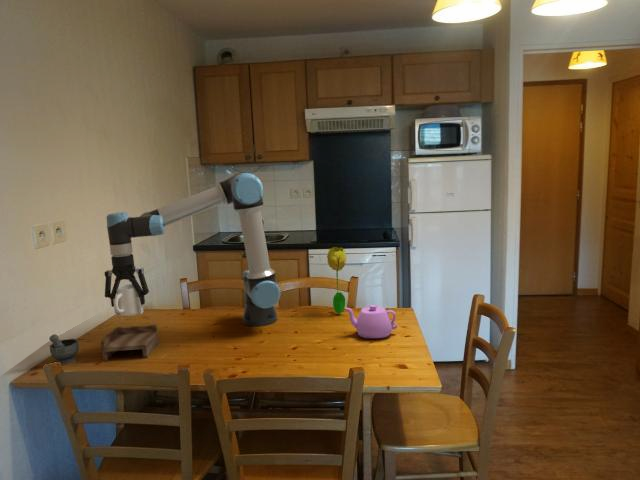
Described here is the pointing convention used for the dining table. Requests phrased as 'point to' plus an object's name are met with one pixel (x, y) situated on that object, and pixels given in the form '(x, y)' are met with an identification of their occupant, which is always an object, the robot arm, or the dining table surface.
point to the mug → (126, 300)
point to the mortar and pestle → (63, 349)
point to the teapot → (373, 322)
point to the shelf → (130, 340)
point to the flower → (337, 263)
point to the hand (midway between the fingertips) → (129, 313)
